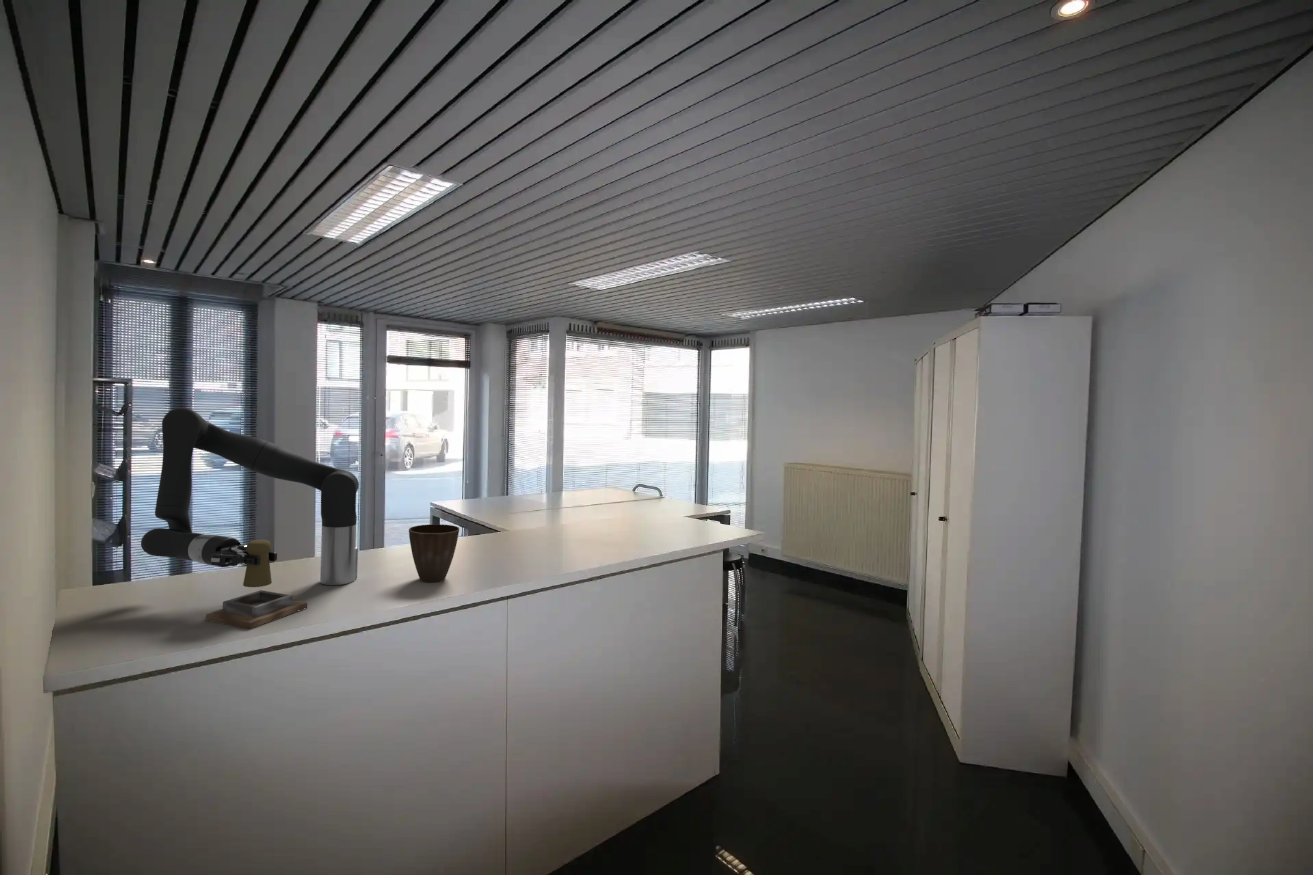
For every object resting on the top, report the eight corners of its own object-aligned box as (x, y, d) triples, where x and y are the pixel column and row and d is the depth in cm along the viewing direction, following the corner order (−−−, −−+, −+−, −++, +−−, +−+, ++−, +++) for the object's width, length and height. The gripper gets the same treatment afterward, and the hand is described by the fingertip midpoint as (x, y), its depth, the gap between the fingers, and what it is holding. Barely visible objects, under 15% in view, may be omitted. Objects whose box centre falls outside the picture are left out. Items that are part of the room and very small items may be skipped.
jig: (264, 601, 161) (264, 586, 161) (306, 608, 157) (307, 593, 157) (205, 620, 146) (205, 604, 145) (250, 628, 142) (251, 612, 142)
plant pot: (404, 574, 192) (406, 524, 191) (453, 570, 199) (455, 523, 198) (409, 587, 179) (411, 534, 178) (461, 583, 186) (463, 532, 185)
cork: (277, 580, 154) (278, 538, 154) (262, 587, 148) (264, 543, 148) (252, 579, 154) (254, 536, 154) (237, 586, 148) (238, 542, 148)
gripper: (187, 541, 148) (241, 549, 143) (241, 530, 161) (292, 538, 157) (186, 571, 148) (240, 581, 143) (240, 558, 162) (291, 567, 157)
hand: (267, 558), depth 150 cm, fingers closed on cork, 4 cm apart
